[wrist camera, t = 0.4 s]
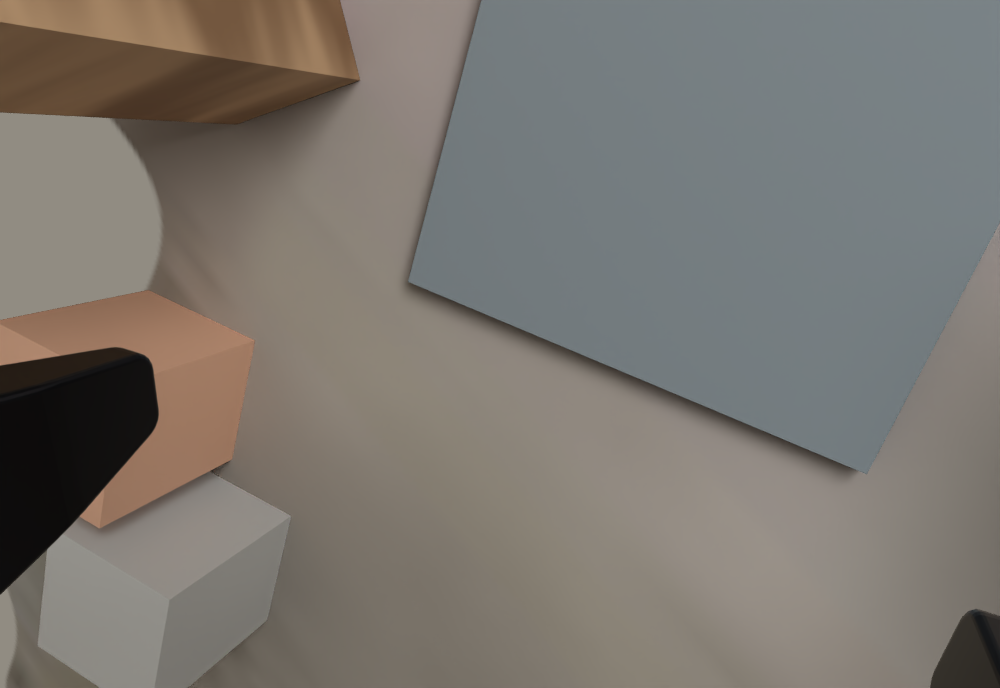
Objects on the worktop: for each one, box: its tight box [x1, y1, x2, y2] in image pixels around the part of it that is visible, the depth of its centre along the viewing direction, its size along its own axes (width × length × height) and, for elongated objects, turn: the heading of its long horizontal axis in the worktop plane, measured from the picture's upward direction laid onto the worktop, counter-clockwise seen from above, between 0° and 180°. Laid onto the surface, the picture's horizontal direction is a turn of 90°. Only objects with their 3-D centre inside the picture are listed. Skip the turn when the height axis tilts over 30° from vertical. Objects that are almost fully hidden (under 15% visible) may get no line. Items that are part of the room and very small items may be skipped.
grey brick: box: [38, 472, 291, 688], centre depth 27 cm, size 5×5×6 cm
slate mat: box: [408, 0, 1000, 474], centre depth 19 cm, size 16×14×1 cm
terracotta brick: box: [0, 290, 255, 529], centre depth 26 cm, size 5×5×6 cm
